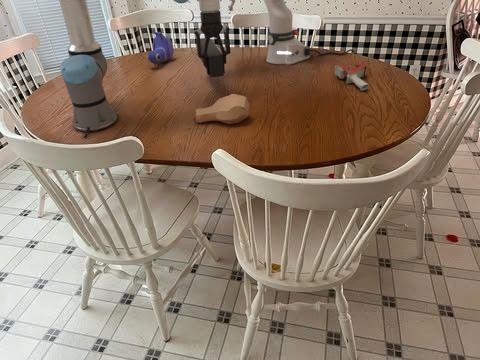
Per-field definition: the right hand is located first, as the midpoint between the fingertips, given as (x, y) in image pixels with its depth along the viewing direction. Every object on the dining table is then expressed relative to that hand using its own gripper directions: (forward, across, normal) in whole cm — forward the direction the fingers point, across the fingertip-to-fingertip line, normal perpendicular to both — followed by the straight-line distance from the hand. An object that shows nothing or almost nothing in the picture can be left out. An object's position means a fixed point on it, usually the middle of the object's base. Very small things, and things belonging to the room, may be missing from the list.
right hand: (220, 11), depth 153 cm
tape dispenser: (+26, -50, +31) cm, 64 cm away
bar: (+19, +8, +12) cm, 24 cm away
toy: (+28, +28, -28) cm, 48 cm away
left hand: (+19, +8, +23) cm, 31 cm away
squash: (+28, +10, +48) cm, 57 cm away
